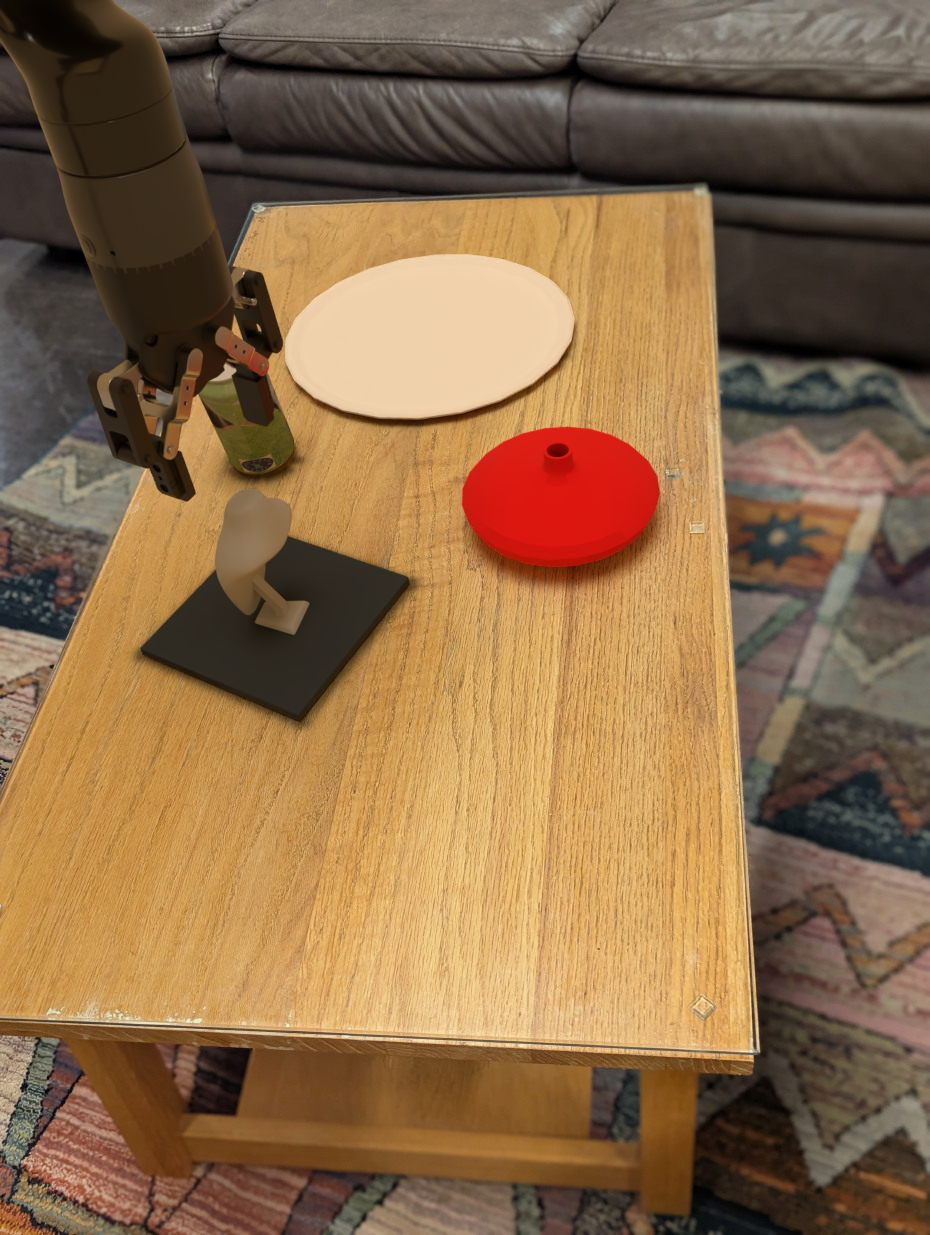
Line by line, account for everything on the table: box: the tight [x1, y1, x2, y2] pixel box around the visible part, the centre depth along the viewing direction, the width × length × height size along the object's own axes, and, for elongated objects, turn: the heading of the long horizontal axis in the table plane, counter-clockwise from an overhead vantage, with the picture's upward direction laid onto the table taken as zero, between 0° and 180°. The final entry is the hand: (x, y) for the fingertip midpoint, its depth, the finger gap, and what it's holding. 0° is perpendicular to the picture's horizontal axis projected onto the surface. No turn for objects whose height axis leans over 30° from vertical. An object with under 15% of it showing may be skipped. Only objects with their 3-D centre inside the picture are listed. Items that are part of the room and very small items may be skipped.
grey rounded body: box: [214, 487, 309, 635], centre depth 78 cm, size 8×5×12 cm
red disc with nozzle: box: [461, 426, 661, 568], centre depth 85 cm, size 16×16×7 cm
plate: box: [284, 253, 576, 420], centre depth 108 cm, size 29×29×1 cm
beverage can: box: [197, 364, 295, 475], centre depth 93 cm, size 6×7×12 cm
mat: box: [139, 535, 411, 722], centre depth 83 cm, size 15×15×1 cm
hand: (222, 457), depth 72 cm, fingers open, 8 cm apart
